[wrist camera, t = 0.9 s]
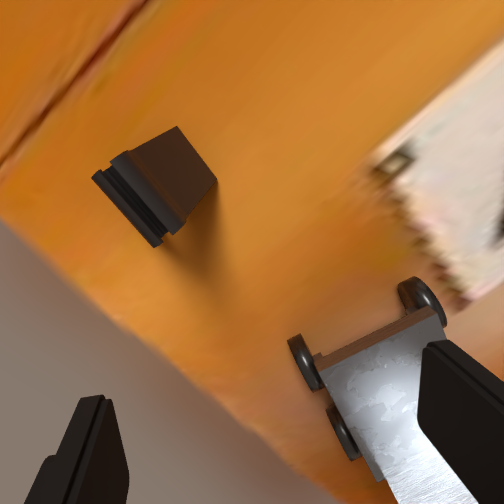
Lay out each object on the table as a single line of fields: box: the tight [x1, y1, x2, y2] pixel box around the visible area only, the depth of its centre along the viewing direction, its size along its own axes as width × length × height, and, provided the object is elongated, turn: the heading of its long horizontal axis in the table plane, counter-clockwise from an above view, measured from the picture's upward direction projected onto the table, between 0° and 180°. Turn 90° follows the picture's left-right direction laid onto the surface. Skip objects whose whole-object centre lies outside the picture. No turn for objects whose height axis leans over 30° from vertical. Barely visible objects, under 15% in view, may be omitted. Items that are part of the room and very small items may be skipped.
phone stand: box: [91, 126, 217, 248], centre depth 29 cm, size 9×6×12 cm, turn 126°
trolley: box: [287, 276, 479, 504], centre depth 34 cm, size 15×17×20 cm
